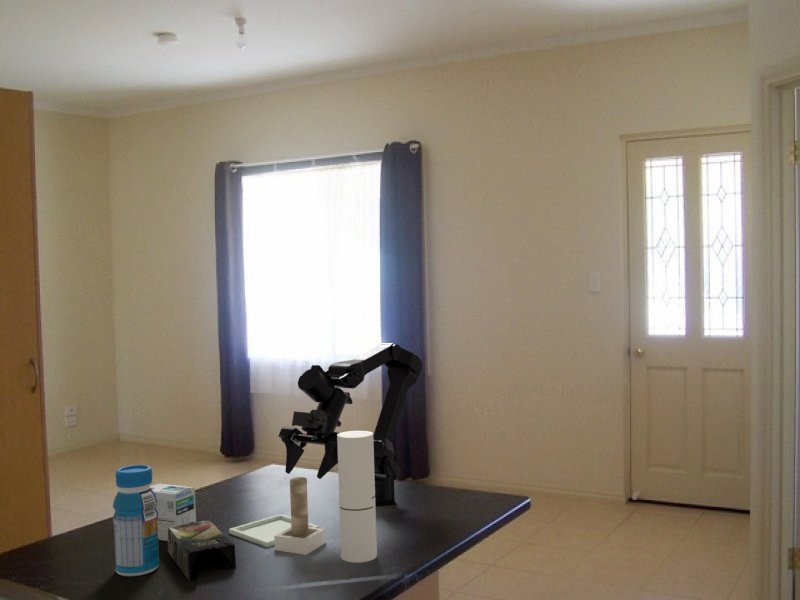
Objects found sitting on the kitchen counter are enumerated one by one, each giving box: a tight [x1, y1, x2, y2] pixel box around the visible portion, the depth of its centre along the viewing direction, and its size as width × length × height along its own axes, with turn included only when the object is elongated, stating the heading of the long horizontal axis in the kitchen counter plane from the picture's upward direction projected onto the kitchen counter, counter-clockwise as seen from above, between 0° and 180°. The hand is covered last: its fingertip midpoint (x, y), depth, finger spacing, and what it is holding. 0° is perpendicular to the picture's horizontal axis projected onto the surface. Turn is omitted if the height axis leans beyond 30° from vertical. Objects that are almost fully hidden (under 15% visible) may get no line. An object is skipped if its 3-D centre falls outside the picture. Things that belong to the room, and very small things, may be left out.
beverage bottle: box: [112, 464, 160, 577], centre depth 154 cm, size 8×8×20 cm
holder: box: [274, 527, 327, 556], centre depth 164 cm, size 8×8×4 cm
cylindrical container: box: [337, 430, 378, 563], centre depth 156 cm, size 7×7×25 cm
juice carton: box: [167, 520, 237, 582], centre depth 159 cm, size 20×10×6 cm, turn 29°
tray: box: [228, 513, 320, 548], centre depth 173 cm, size 14×14×2 cm
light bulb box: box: [149, 483, 197, 542], centre depth 175 cm, size 11×7×11 cm, turn 65°
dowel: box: [289, 476, 309, 538], centre depth 163 cm, size 4×4×14 cm
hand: (302, 475), depth 173 cm, fingers open, 9 cm apart
